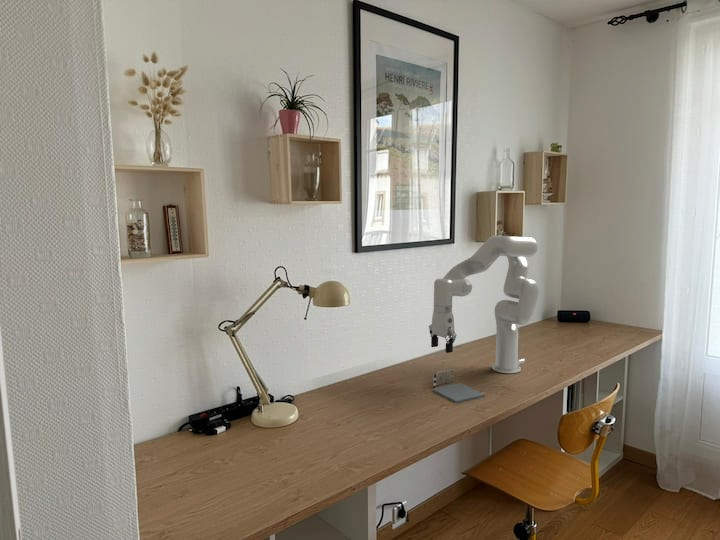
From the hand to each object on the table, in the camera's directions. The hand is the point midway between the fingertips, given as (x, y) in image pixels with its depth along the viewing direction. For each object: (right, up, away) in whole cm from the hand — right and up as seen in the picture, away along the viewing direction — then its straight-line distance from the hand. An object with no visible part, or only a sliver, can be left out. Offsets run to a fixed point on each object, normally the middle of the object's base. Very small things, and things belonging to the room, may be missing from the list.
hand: (441, 349), depth 210 cm
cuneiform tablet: (0, -15, 0) cm, 15 cm away
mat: (+5, -16, -10) cm, 19 cm away
